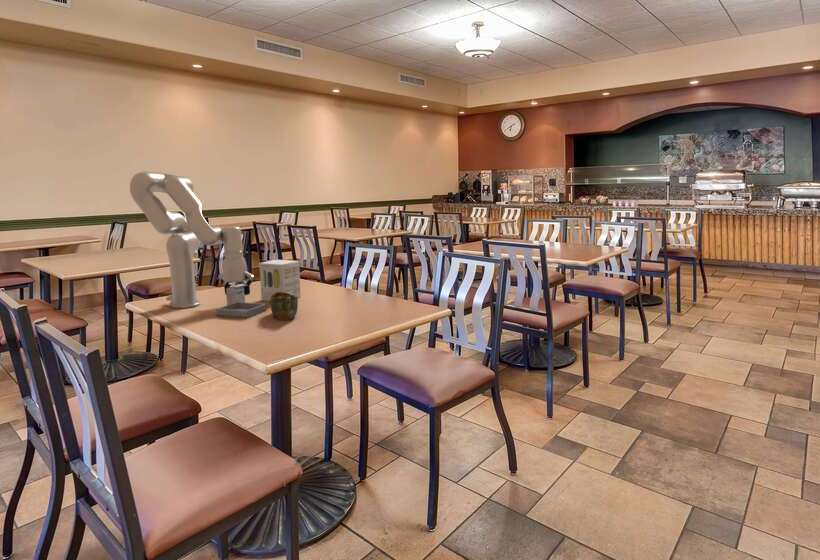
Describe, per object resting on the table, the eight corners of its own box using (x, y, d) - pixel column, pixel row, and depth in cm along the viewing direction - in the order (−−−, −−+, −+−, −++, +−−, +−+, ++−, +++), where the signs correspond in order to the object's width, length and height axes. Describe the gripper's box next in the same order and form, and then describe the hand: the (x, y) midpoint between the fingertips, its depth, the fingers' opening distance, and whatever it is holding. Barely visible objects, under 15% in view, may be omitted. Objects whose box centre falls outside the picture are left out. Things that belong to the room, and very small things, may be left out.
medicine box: (236, 308, 225) (235, 288, 223) (226, 307, 225) (225, 287, 224) (245, 304, 232) (244, 285, 231) (236, 303, 233) (235, 284, 232)
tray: (216, 316, 210) (216, 309, 209) (237, 308, 223) (237, 301, 222) (246, 318, 206) (246, 311, 205) (266, 311, 219) (265, 304, 218)
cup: (259, 322, 200) (258, 296, 198) (275, 311, 219) (274, 287, 218) (292, 323, 199) (291, 297, 197) (305, 311, 219) (305, 288, 217)
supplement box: (260, 300, 240) (258, 262, 237) (278, 295, 252) (276, 259, 249) (284, 302, 235) (282, 264, 232) (301, 297, 247) (299, 260, 244)
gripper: (211, 256, 224) (215, 295, 227) (246, 256, 219) (249, 296, 222) (222, 254, 231) (225, 292, 234) (256, 254, 226) (259, 293, 229)
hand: (237, 294), depth 228 cm, fingers open, 9 cm apart
